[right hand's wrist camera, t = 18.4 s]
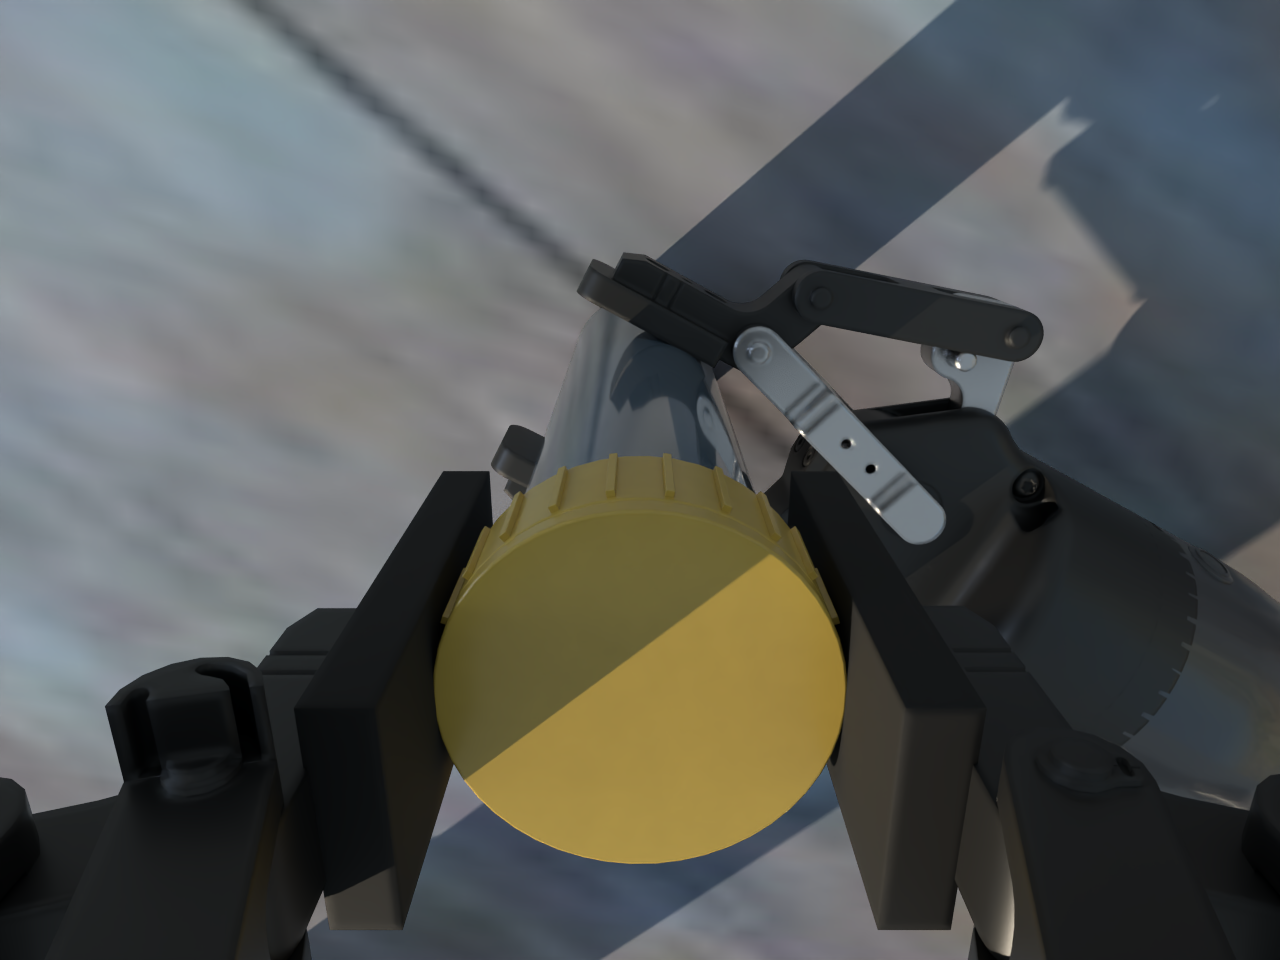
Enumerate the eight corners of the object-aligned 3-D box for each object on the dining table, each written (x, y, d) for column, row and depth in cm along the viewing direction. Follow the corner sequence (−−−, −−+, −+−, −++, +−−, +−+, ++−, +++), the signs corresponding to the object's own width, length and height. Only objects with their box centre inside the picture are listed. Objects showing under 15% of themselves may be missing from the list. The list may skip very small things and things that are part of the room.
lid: (568, 819, 13) (558, 922, 12) (387, 551, 12) (340, 621, 10) (877, 689, 13) (916, 778, 11) (725, 382, 11) (743, 426, 9)
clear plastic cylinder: (732, 346, 28) (873, 631, 11) (654, 448, 29) (674, 846, 12) (624, 267, 27) (598, 446, 10) (549, 375, 28) (413, 696, 11)
